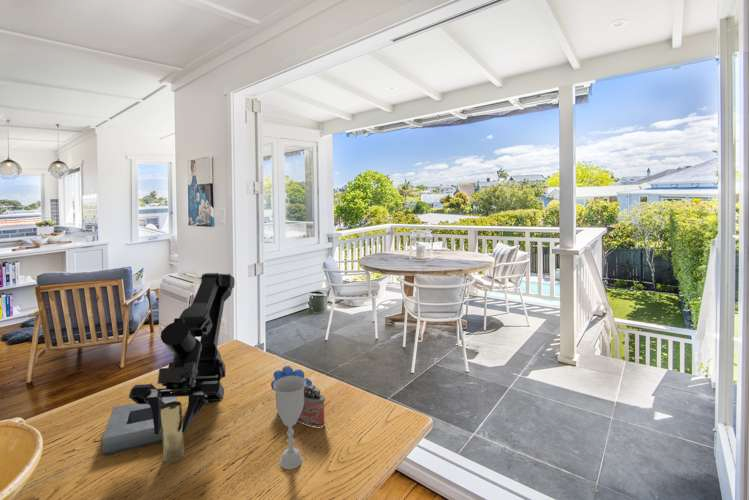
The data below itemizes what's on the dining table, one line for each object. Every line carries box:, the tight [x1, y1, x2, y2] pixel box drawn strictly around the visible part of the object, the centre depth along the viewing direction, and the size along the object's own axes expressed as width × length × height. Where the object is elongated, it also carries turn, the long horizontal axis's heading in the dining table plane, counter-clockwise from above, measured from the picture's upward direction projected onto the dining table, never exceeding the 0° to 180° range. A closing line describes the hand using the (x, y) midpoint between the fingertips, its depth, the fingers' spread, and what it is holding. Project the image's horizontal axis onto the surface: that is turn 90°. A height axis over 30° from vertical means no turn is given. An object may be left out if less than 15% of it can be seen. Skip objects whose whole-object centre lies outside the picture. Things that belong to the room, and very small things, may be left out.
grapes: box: [270, 365, 313, 392], centre depth 102 cm, size 12×7×12 cm, turn 87°
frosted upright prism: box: [160, 400, 185, 464], centre depth 82 cm, size 4×4×12 cm
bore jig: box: [101, 397, 177, 456], centre depth 92 cm, size 14×14×4 cm
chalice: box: [273, 376, 306, 470], centre depth 81 cm, size 7×7×18 cm
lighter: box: [298, 384, 326, 427], centre depth 96 cm, size 8×3×10 cm, turn 65°
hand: (169, 433), depth 81 cm, fingers open, 5 cm apart
